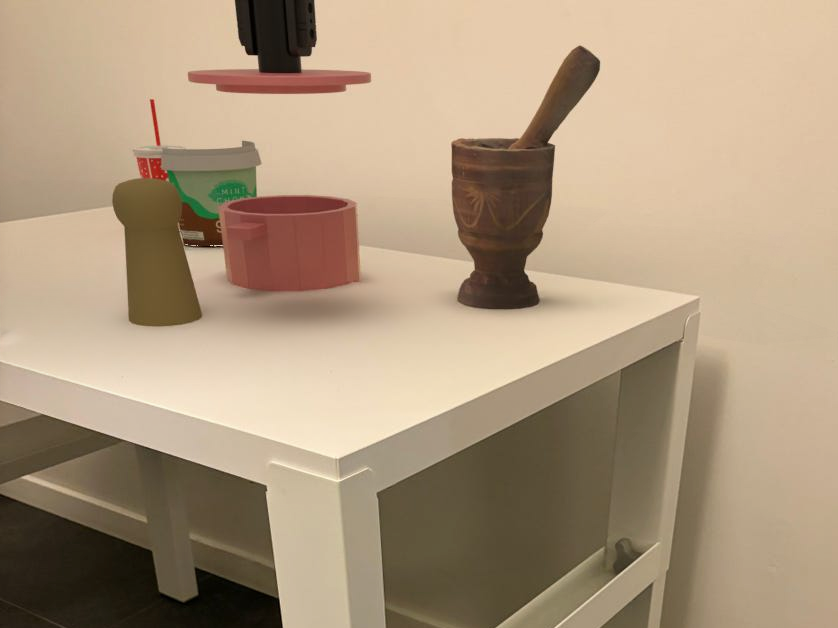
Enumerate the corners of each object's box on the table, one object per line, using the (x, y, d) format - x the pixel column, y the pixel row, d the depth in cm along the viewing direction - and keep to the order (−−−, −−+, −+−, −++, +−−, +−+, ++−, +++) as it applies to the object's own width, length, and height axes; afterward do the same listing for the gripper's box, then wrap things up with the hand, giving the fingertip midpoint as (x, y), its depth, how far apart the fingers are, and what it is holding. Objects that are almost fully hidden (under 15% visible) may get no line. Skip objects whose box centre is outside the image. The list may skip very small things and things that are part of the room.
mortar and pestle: (551, 289, 94) (562, 44, 83) (596, 309, 87) (613, 45, 76) (438, 299, 90) (434, 44, 79) (475, 321, 83) (476, 45, 72)
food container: (208, 253, 108) (195, 152, 102) (173, 247, 111) (158, 148, 106) (291, 237, 116) (282, 143, 111) (255, 232, 119) (245, 140, 114)
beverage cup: (206, 226, 123) (189, 98, 115) (179, 234, 118) (159, 101, 110) (163, 223, 124) (144, 97, 117) (135, 231, 119) (113, 100, 112)
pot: (186, 296, 90) (174, 214, 87) (284, 260, 105) (277, 188, 101) (308, 308, 87) (300, 223, 83) (392, 269, 101) (389, 195, 97)
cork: (132, 336, 79) (105, 186, 73) (125, 318, 83) (99, 176, 78) (209, 329, 80) (189, 182, 75) (198, 312, 85) (178, 173, 79)
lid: (151, 91, 72) (134, -28, 68) (252, 84, 83) (242, -19, 79) (317, 97, 68) (309, -29, 64) (400, 89, 79) (397, -20, 75)
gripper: (129, -253, 64) (170, 55, 73) (320, -271, 60) (339, 58, 69) (196, -229, 70) (227, 53, 79) (374, -243, 66) (385, 56, 75)
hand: (279, 54), depth 74 cm, fingers closed on lid, 3 cm apart
